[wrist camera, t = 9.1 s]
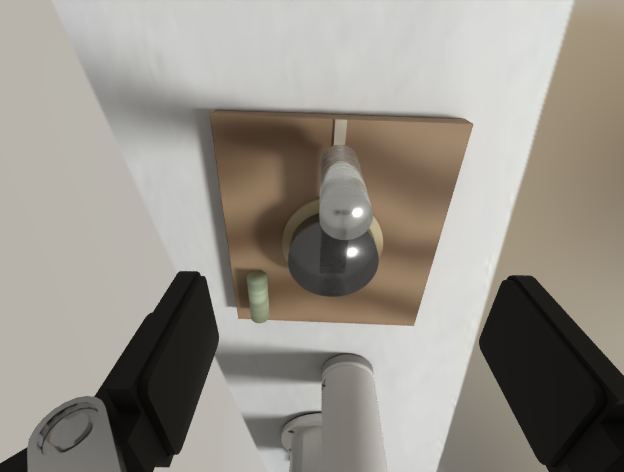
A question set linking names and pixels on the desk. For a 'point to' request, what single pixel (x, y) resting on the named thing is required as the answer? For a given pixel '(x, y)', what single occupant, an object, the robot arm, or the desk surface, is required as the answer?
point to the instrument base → (306, 200)
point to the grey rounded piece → (336, 231)
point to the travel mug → (351, 417)
